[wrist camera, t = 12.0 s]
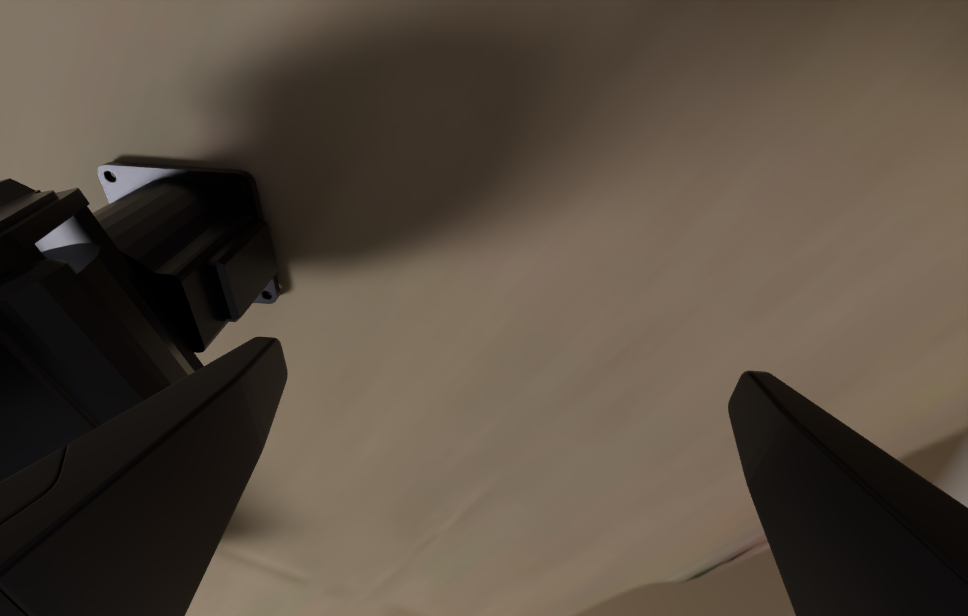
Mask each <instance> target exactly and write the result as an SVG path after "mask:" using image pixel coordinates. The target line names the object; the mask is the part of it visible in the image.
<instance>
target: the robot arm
mask: <svg viewBox="0 0 968 616" xmlns="http://www.w3.org/2000/svg"><path fill="white" fill-rule="evenodd" d="M97 172H98V177H99V179H100V181H101V184H102V186H103V189H104V191H105V193H106V196H107V198H108V201H109V203H110V204H108V205H107V206H105V207H103V208H101V209H99V210H97V211H96V212H94V213H92V212H91V211H90V209H89V208H88V207H87V205H89V204H90V203H89V202H88V200H87V199H86V198H85V196H84V195H83V194H82V192H81V191H80V189H79V188H75V189H70V190H66V191H62V192H58V193H55V192H54V191H53V190H52V191H46V192H41V191H40V190H37V191H35V190H33V189H31V188H29V187H27V186H25V185H23V184H21V183H19V182H17V181H14V180H12V179H10V178H9V179H6V180H2V181H0V616H185V614H186V612H187V610H188V608H189V606H190V603H191V601H192V599H193V597H194V595H195V593H196V591H197V589H198V587H199V584H200V582H201V580H202V578H203V576H204V574H205V572H206V570H207V568H208V565H209V563H210V561H211V559H212V557H213V555H214V553H215V551H216V548H217V546H218V544H219V542H220V540H221V538H222V536H223V534H224V532H225V529H226V527H227V525H228V523H229V521H230V519H231V517H232V515H233V513H234V510H235V508H236V506H237V504H238V502H239V500H240V498H241V496H242V494H243V491H244V489H245V487H246V485H247V483H248V481H249V479H250V477H251V475H252V472H253V470H254V468H255V466H256V464H257V462H258V460H259V457H260V455H261V453H262V451H263V448H264V445H265V443H266V440H267V437H268V434H269V431H270V428H271V425H272V422H273V420H274V417H275V414H276V411H277V408H278V405H279V402H280V399H281V396H282V393H283V390H284V387H285V384H286V381H287V367H286V362H285V358H284V354H283V350H282V346H281V343H280V341H279V340H278V339H276V338H271V337H255V338H253V339H251V340H249V341H248V342H246V343H244V344H242V345H241V346H239V347H237V348H235V349H234V350H232V351H230V352H228V353H227V354H225V355H223V356H221V357H220V358H218V359H216V360H214V361H213V362H211V363H209V364H207V365H206V366H203V364H202V363H201V362H200V360H199V359H198V358H197V356H196V355H195V353H194V352H197V353H200V352H203V351H204V350H205V349H206V348H207V347H208V346H209V344H210V343H211V342H212V341H213V340H214V339H215V337H216V336H217V335H218V334H219V333H220V331H221V330H222V329H223V328H224V327H225V325H226V324H227V323H228V322H236V321H238V320H239V319H240V318H241V317H242V315H243V314H244V313H245V312H246V310H247V309H248V308H249V307H250V306H251V304H252V303H265V304H271V303H274V302H276V300H277V299H278V298H279V296H280V288H279V284H278V279H277V275H276V274H277V272H278V265H277V261H276V256H275V252H274V247H273V243H272V238H271V234H270V229H269V225H268V223H267V222H266V221H265V220H264V218H263V213H262V209H261V205H260V200H259V196H258V191H257V187H256V183H255V180H254V178H253V177H252V176H251V175H250V174H249V173H247V172H246V171H242V170H229V169H213V168H197V167H182V166H166V165H150V164H135V163H119V162H109V163H106V164H104V165H101V166H100V167H99V168H98V171H97ZM110 172H112V173H113V174H114V175H115V176H116V179H115V178H114V177H113V176H112V175H111V173H110ZM238 179H239V180H242V181H243V182H244V183H245V185H246V188H244V187H242V186H241V185H239V183H238ZM265 291H268V292H270V293H271V295H268V294H267V293H266V292H265ZM728 412H729V417H730V421H731V425H732V429H733V433H734V437H735V441H736V445H737V448H738V452H739V456H740V460H741V464H742V468H743V472H744V476H745V479H746V483H747V486H748V489H749V492H750V494H751V497H752V500H753V503H754V505H755V508H756V511H757V513H758V516H759V519H760V521H761V524H762V527H763V529H764V532H765V535H766V537H767V540H768V543H769V545H770V548H771V551H772V553H773V556H774V559H775V561H776V564H777V566H778V569H779V572H780V574H781V577H782V580H783V582H784V585H785V588H786V590H787V593H788V596H789V598H790V601H791V603H792V606H793V609H794V612H795V614H796V616H968V508H967V507H966V506H964V505H963V504H961V503H960V502H958V501H957V500H955V499H953V498H952V497H951V496H950V495H948V494H946V493H945V492H944V491H942V490H941V489H939V488H938V487H936V486H935V485H933V484H932V483H930V482H929V481H927V480H926V479H924V478H923V477H921V476H920V475H919V474H917V473H916V472H914V471H912V470H911V469H910V468H908V467H907V466H905V465H904V464H902V463H901V462H900V461H898V460H897V459H895V458H894V457H892V456H891V455H889V454H888V453H886V452H885V451H883V450H882V449H880V448H879V447H878V446H876V445H875V444H873V443H872V442H870V441H869V440H867V439H866V438H864V437H863V436H861V435H860V434H858V433H857V432H855V431H854V430H853V429H851V428H850V427H848V426H847V425H845V424H844V423H842V422H841V421H839V420H838V419H836V418H835V417H833V416H832V415H831V414H829V413H828V412H826V411H825V410H823V409H822V408H820V407H819V406H817V405H816V404H814V403H813V402H811V401H810V400H808V399H807V398H806V397H804V396H803V395H801V394H800V393H798V392H797V391H795V390H794V389H792V388H791V387H789V386H788V385H786V384H785V383H784V382H782V381H781V380H779V379H778V378H776V377H775V376H773V375H772V374H770V373H768V372H762V371H745V372H744V373H743V374H742V375H741V377H740V379H739V381H738V383H737V385H736V387H735V389H734V391H733V394H732V396H731V398H730V400H729V404H728Z"/></svg>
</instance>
